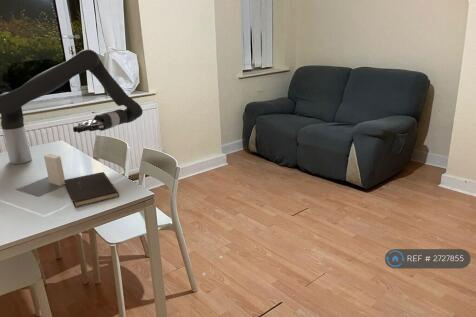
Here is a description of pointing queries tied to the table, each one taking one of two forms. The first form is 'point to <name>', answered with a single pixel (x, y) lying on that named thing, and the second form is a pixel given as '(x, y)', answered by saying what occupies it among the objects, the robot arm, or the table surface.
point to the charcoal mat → (39, 187)
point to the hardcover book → (90, 189)
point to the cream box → (54, 169)
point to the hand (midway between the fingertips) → (75, 130)
